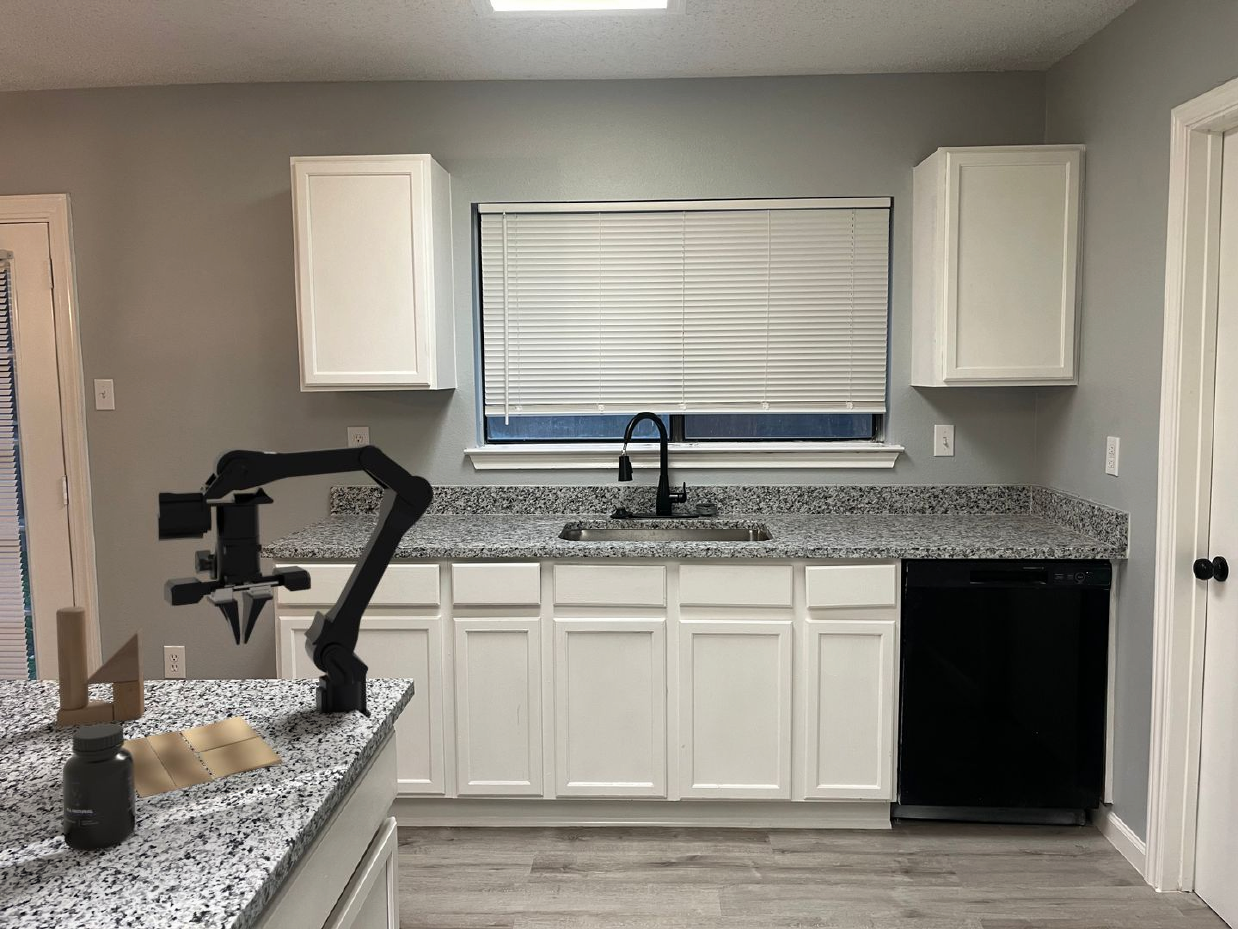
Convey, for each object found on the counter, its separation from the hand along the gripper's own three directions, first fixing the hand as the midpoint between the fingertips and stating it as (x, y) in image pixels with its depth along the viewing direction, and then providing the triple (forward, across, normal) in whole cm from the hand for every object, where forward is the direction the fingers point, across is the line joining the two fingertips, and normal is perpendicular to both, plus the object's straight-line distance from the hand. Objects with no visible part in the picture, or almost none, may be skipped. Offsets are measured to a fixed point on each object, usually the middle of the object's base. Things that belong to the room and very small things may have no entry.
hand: (241, 644), depth 128 cm
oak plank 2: (+13, +4, +13) cm, 19 cm away
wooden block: (+13, +16, -14) cm, 25 cm away
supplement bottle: (+13, +21, +23) cm, 34 cm away
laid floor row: (+13, +12, +8) cm, 20 cm away
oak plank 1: (+13, +4, +3) cm, 14 cm away
